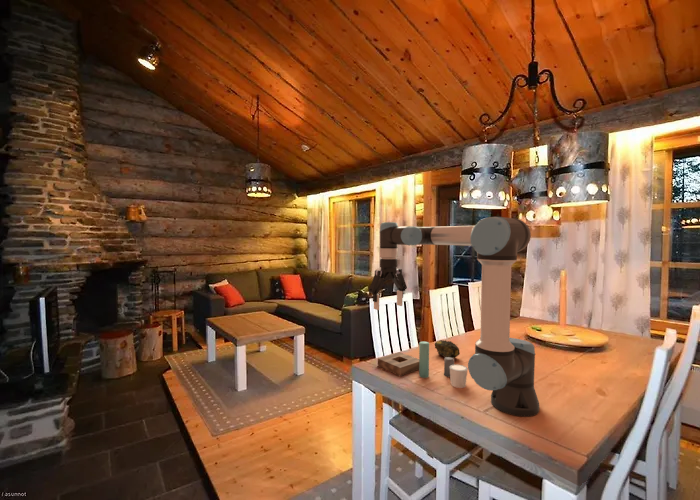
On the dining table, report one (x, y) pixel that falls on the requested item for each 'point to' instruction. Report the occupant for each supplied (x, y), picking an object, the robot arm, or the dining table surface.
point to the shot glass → (458, 375)
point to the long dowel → (424, 359)
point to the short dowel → (448, 365)
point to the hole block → (399, 363)
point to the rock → (447, 349)
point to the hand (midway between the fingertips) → (388, 307)
